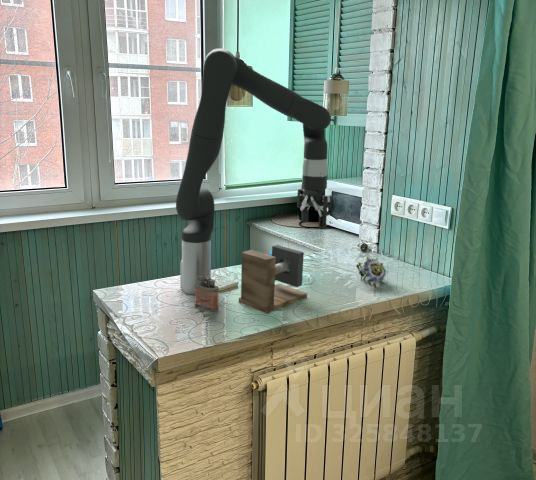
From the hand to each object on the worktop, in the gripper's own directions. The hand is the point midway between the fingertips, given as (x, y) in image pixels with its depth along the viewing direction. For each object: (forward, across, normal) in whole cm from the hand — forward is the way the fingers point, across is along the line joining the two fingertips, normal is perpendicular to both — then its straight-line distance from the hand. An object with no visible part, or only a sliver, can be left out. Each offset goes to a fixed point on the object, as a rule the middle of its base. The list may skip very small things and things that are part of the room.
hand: (313, 225), depth 164 cm
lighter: (+23, -7, -35) cm, 42 cm away
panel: (+19, -4, -7) cm, 21 cm away
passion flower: (+25, +1, +25) cm, 35 cm away
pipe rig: (+23, -3, -13) cm, 27 cm away
